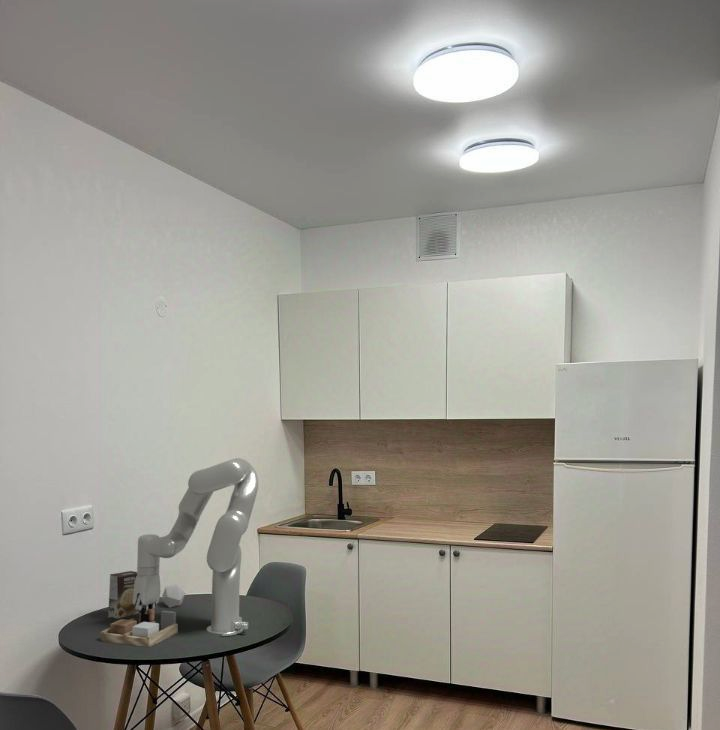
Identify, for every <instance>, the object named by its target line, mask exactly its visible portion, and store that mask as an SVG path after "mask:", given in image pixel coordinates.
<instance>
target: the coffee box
mask: <svg viewBox="0 0 720 730" xmlns="http://www.w3.org/2000/svg"><path fill="white" fill-rule="evenodd" d="M136 576H137V571H134V570H133V571H132V570H130V571H123V572H115V573H111V574H109V589H108V590H109V592H108V593H109V595H108V611H107V612H108V613H107V615H108V616H107V618H108V619H109V618H114V619H123V618H124V617H129V616H135V615H137V614H140V612H139V610H135V607H136V605H133V592H134V584H135V579H136Z"/></svg>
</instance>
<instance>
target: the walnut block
mask: <svg viewBox="0 0 720 730" xmlns="http://www.w3.org/2000/svg"><path fill="white" fill-rule="evenodd" d="M155 609H156V608H155ZM155 609H148V614H149V622H152V621H155V614H156V612H155V611H156V610H155ZM140 620H141V614H140V613H139V623H138V622H137V620H135V621H134V620H129V619H124V618H120V619H119V620H115V621H114V622H112V623H110V624H109V628H110V633H112V634H120V635H123V634H125V633H128V632H130V631H132V627H133V626H135V625H138V624H140Z"/></svg>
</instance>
